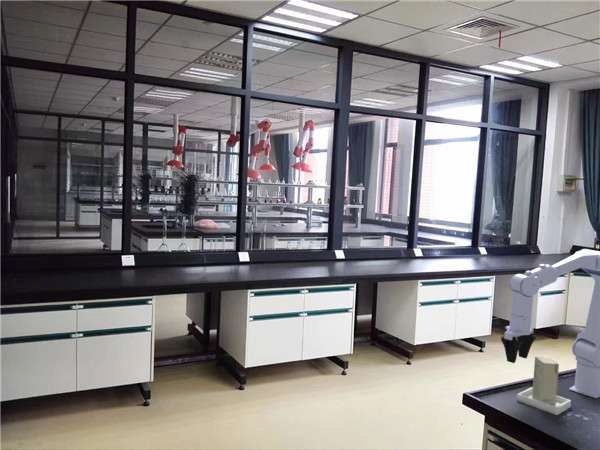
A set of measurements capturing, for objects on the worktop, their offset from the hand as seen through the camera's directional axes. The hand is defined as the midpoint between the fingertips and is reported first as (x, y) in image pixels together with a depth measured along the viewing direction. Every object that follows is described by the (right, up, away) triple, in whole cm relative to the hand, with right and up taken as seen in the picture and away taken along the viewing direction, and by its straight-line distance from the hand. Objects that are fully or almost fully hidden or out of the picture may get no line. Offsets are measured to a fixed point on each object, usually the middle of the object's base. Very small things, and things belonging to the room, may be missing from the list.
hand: (517, 359), depth 147 cm
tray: (+5, -11, -6) cm, 14 cm away
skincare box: (+5, -11, -6) cm, 13 cm away
